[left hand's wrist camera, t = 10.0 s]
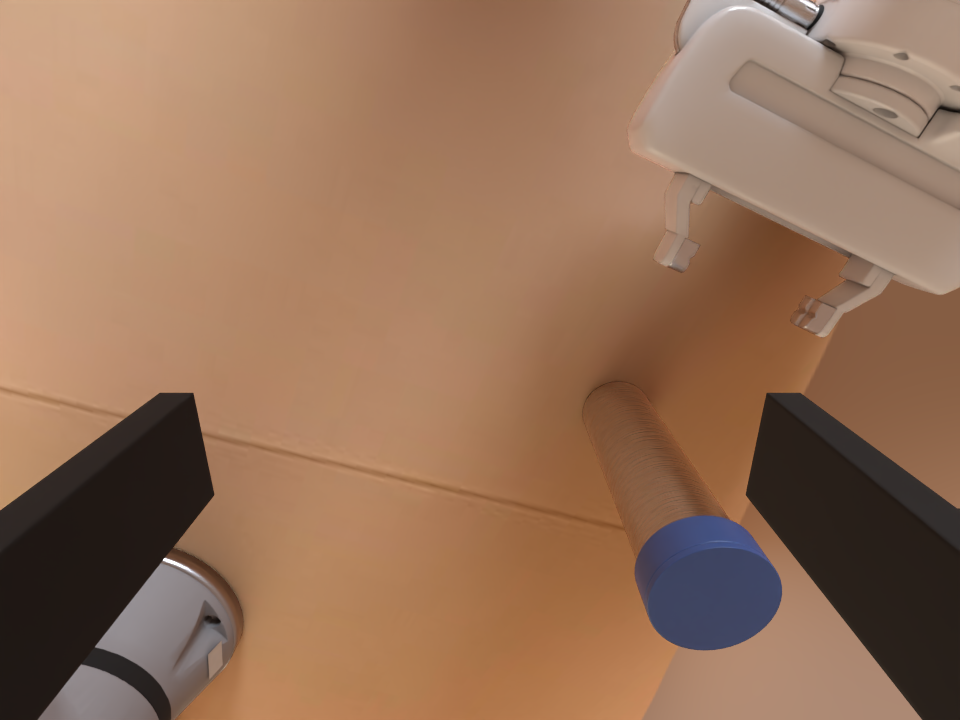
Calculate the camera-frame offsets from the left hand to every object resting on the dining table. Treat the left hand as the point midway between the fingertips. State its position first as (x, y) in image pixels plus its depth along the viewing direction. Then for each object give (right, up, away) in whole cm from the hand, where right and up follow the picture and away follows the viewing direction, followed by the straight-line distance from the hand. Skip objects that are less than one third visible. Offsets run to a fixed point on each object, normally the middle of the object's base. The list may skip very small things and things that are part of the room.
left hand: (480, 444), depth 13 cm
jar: (+10, -2, +28) cm, 30 cm away
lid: (+10, -8, +11) cm, 17 cm away
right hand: (+15, +6, +19) cm, 24 cm away
